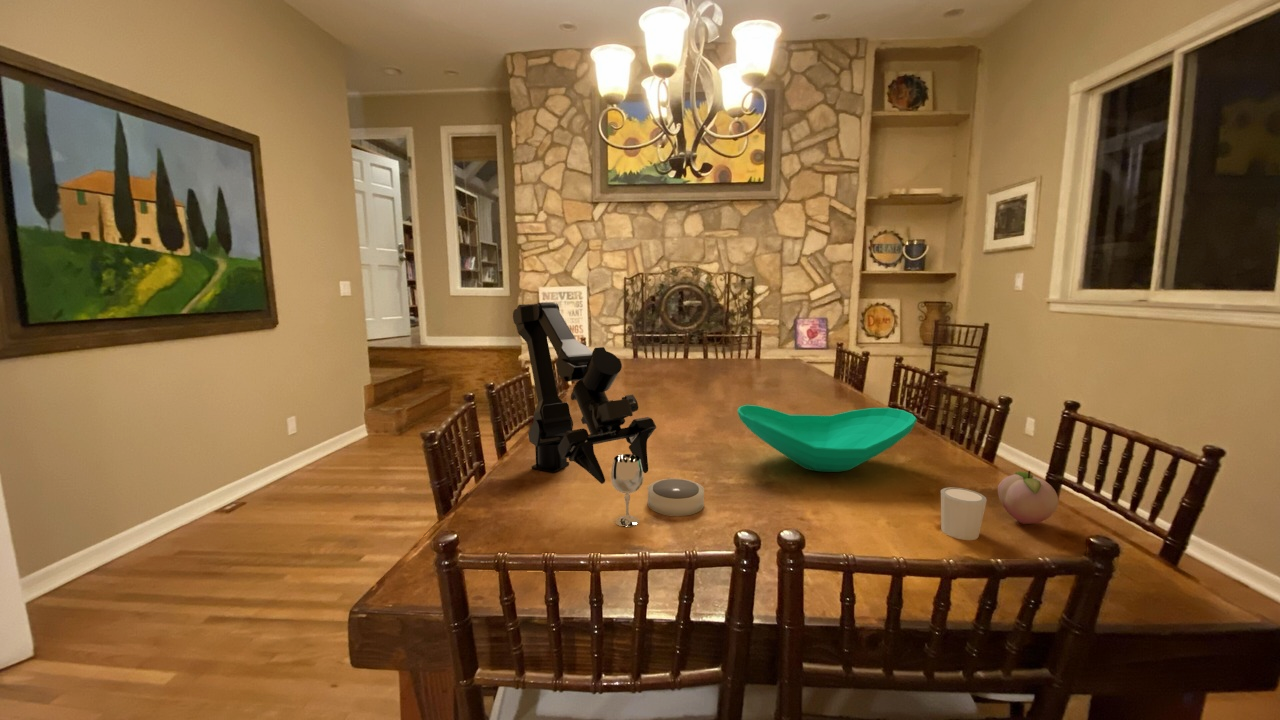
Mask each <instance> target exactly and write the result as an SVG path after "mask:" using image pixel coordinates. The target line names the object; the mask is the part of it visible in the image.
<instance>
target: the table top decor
mask: <svg viewBox="0 0 1280 720" xmlns="http://www.w3.org/2000/svg"><path fill="white" fill-rule="evenodd" d="M737 414H738V418H739V419H740V421H741V422H742V423H743V424H744V425H745V426H746V428H747V429H749V431H750V432H751V433H753V434H754V435H756V436H757V437H758V438H759V439H761V440H762V441H763V442H764V443H765V444H767V445H769V446H771V447H772V448H773V449H775V450H776V451H777V452H779V453H780V454H782V455H784V457H786V458H788V459H790V460H791V461H792V462H794V463H796V464H797V465H799V466H800V467H801V468H804V469H806V470H810V471H813V472H820V473H821V472H822V473H825V472H826V473H832V472H833V473H836V472H837V473H841V472H846V471H849V470H851V469H854V468H856V467H858V466H859V465H862V464H863V463H865V462H867V461H868V460H871V459H873V458H874V457H877V456H879V455H880V454H882V453H884V452H885V451H887V450H888V449H890V448H891V447H893V446H894V445H896V444H897V443H898V442H900V441H901V440H902V439H903V438H905V437H906V436H908V435H909V434H910V433H911V431H913V429H914V427H915V424H916V423H917V422H918V421H917V420H918V418H917V417H916V416H915V415H914V414H913V413H910V412H908V411H906V410H904V409H898V408H892V407H870V408H869V407H868V408H860V409H855V410H853V409H852V410H849V411H845V412H841V413H836V414H832V415H831V414H830V415H822V414H821V415H817V414H816V415H815V414H814V415H813V414H788V413H785V412H782V411H779V410H775V409H773V408H770V407H769V408H768V407H764V406H761V405H760V406H759V405H755V404H754V405H753V404H752V405H751V404H745V405H741V406H739V407H738V408H737Z"/></svg>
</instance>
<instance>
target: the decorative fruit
mask: <svg viewBox="0 0 1280 720" xmlns="http://www.w3.org/2000/svg"><path fill="white" fill-rule="evenodd" d="M997 495H998V498H999V501H1000V503H1001V506H1003V508H1004V510H1005V511H1006V513H1008V514H1009V515H1010V516H1012V518H1013V519H1015V520H1016V521H1018V522H1019V523H1020V524H1023V525H1031V524H1032V525H1033V524H1038V523H1042V522H1044V521H1047V520H1048V519H1050V518H1051V517H1052V515H1053V514H1054V513H1055V512H1056V510H1057V509H1058V506H1059V497H1058V493H1057V492H1056V490H1055V489H1054V487H1053V486H1052V485H1051V484H1050V483H1048V482H1047V481H1046V480H1044V479H1042V478H1040V477H1037V476H1034V475H1033V474H1031V470H1028V471H1027V472H1024V471H1016V472H1015V473H1014V474H1010V475H1008V476H1005V477H1004V478H1003V479H1002V480H1001V481H1000V483H998V486H997Z"/></svg>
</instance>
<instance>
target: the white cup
mask: <svg viewBox="0 0 1280 720" xmlns="http://www.w3.org/2000/svg"><path fill="white" fill-rule="evenodd" d="M986 505H987V497H986V496H984V494H981V493H980V492H978V491H975V490H971V489H967V488H962V487H950V486H949V487H944V488H942V489H940V526H941V528H940V529H941V532H942V533H944V534H945V535H947V536H949V537H951V538H954V539H958V540H963V541H975V540H977V539H978V538H980V537H979V536H980V531H981V528H982V522H983V518H984V514H985V510H986Z"/></svg>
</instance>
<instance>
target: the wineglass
mask: <svg viewBox="0 0 1280 720" xmlns="http://www.w3.org/2000/svg"><path fill="white" fill-rule="evenodd" d="M611 466H612V467H611V471H610V473H611V474H610V480H611V484H612V485H611V486H612V487H613V488H614V489H615V490H616V491H618V492H619V493H622V494H625V495H624V498H623V499H624V501H625V502H624V503H625V515H621V516H618V517H617V518H615V521H614V522H615V524H616V525H617V526H618V525H619V526H618V527H621V526H625V527H624V528H631V527H630V526H633V527H636V526H638V525H639V524H640V519H639V518H638V517H637V516H635V515H634V516H633V515H630V512H629V506H630V501H631V496H630V494H632V493H635V492H637V491H638V490H640V488H641V487H642V486H643V483H644V472H643V468H642V464H641V460H640V457H639V456H637V455H633V454H632V453H623V454H619V455H615V456H614V459H613V461H612V465H611ZM638 523H639V524H638ZM637 524H638V525H637ZM635 525H636V526H635Z"/></svg>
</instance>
